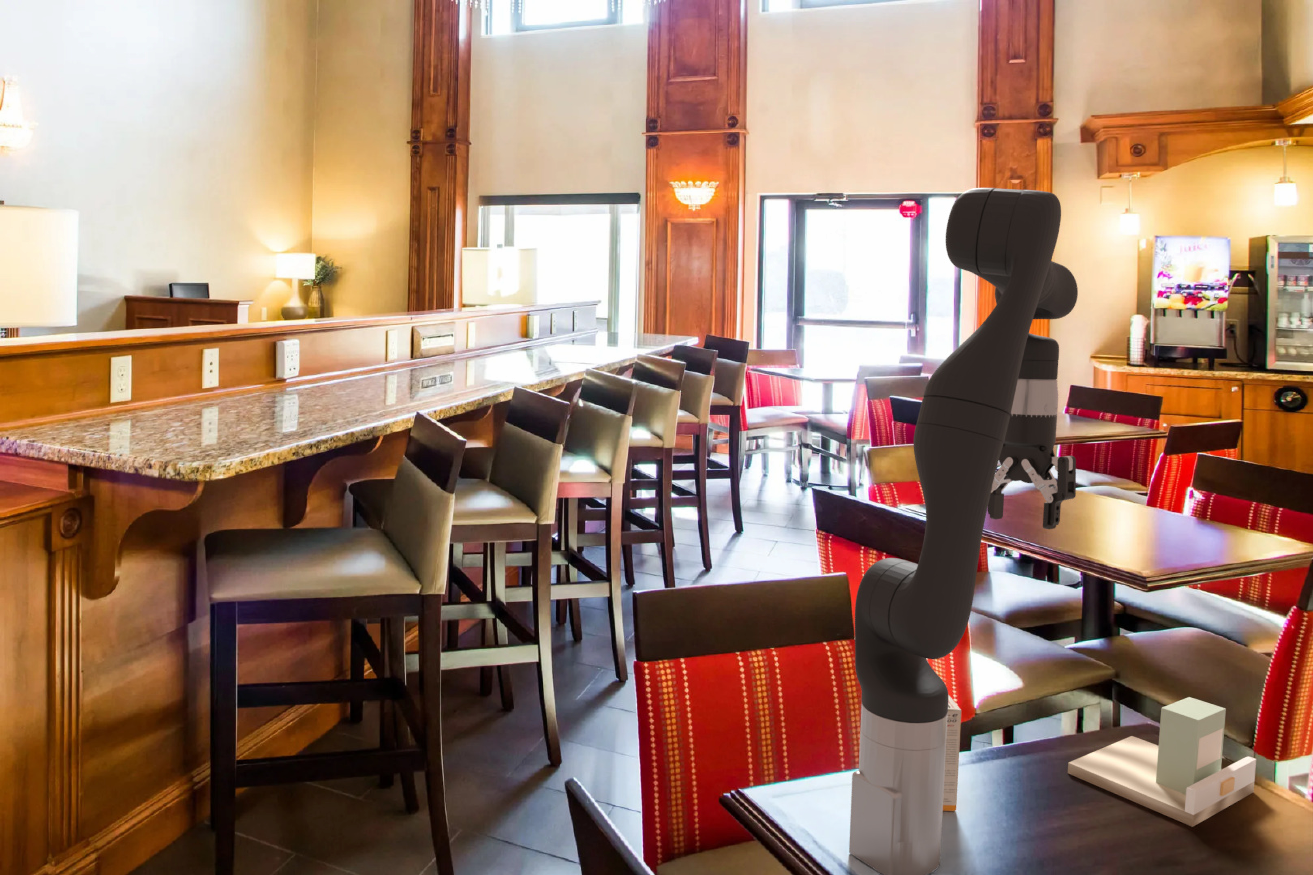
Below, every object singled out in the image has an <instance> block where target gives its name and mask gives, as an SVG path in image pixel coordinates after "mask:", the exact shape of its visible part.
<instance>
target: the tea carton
mask: <svg viewBox="0 0 1313 875" xmlns="http://www.w3.org/2000/svg"><path fill="white" fill-rule="evenodd" d="M1160 711H1161V712H1160V721H1159V722H1160V723H1159V734H1158V735H1159V736H1158V746H1159V747H1158V760H1157V774H1156V783H1158V784H1161V785H1163V786H1166V787H1168V788H1171V789H1173V790H1176V791H1178V792H1181V793H1183V794H1185V795H1186V789H1187V787H1189V786H1191V785H1193V784H1195V783H1197V782H1199V781H1201V780H1202V779H1204V778H1206V777H1208V776H1210V775H1212V774H1214V773H1216V772H1218V771H1220V770H1221V769H1222V763H1223V762H1222V760H1223V749H1224V747H1223V746H1224V735H1225V725H1226V714H1227V713H1226V711H1227V708H1225V707H1222V706H1219V705H1216V704H1212V703H1209V702H1206V701H1203V700H1200V699H1197V698H1193V697H1190V696H1188V697H1186V698H1183V699H1181V700H1177V701H1175V702H1172V703H1170V704H1168V705H1165V706H1162V707H1161V709H1160Z"/></svg>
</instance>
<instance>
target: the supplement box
mask: <svg viewBox="0 0 1313 875" xmlns="http://www.w3.org/2000/svg"><path fill="white" fill-rule="evenodd" d="M961 720H962V709H961V708H960V707H959V706H958V704H957V703H956V702H955V700H954V699H953V698H952V697H951V696H950V695H949V694H948V718H947V738H946V755H945V775H944V794H943V812H956V811H957V801H958V784H959V782H958V780H959V762H960V760H959V759H960V743H961V726H962V725H961V723H962V721H961Z"/></svg>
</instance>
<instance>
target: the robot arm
mask: <svg viewBox="0 0 1313 875" xmlns="http://www.w3.org/2000/svg"><path fill="white" fill-rule="evenodd" d="M1061 220H1062V207H1061V202H1060V200H1059V198H1058V196H1057V195H1056V194H1055V193H1052V192H1050V191H1043V190H1035V189H1034V190H1033V189H1011V188H996V187H975V188H970V189H968V190H967V189H966V190H965V191H963V192H962V193H961V194H959V196H958V197H957V198H956V199H955V201H954V203H953V204H952V207H951V208H950V212H949V216H948V218H947V224H946V230H945V249H946V253H947V257H948V258H949V261H950V262H951V263H952V264H953V266H954V267H956V268H958V269H960V270H963V271H966V272H969V273H971V274H974V275H975V276H978V277H979V278H981V279H982V280H985V281H987V282H988V283H990V284H991V285H992V286H994V287H995V288H994V298H995V303H996V305H995V306H994V308H993V309H992V310H991V312H990V314H989V315H988V316H987V317H986V319H985V320H984V321H983V322H982V323H981V325H980V326H979V327H978V328H977V329H976V330H975V331H974V332H973V333H972V334H971V335H970V336H969V337H968V338H967V339H966V340H965V341H963V342H962V343H961V344H960V345H959V346H958V347H957V348H956V349H955V350H954V351H953V352H952V353H950V354H949V356H947V357H946V359H945V360H943V361H942V363H941V364H940V365H939V366H938V367H937V368H936V370H935V371H934V372H933V373H932V375H931V376H930V378H929V380H928V382H927V383H926V386H925V388H924V392H923V396H922V400H921V404H920V408H919V412H918V417H917V420H916V425H915V428H914V434H913V453H914V459H915V460H914V461H915V465H916V470H917V474H918V478H919V482H920V487H921V490H922V494H923V499H924V500H923V501H924V505H925V530H924V538H923V543H922V547H921V552H920V556H919V559H918V560H919V561H918V563H916V562H913V561H909V560H906V559H901V558H896V557H887V558H882V559H880V560H878V561H876V562H874V563H873V564H872V565H871V566H870V567H869V568H868V569H867V570H866V572H865V573H864V575H863V576H862V578H861V580H860V583H859V585H858V589H857V591H856V597H855V605H854V659H855V660H854V661H855V662H854V665H855V666H854V667H855V674H856V679H857V680H858V683H859V686H860V689H861V706H860V708H861V711H860V729H859V730H860V733H859V753H858V754H859V755H858V756H859V757H858V770H856V771H854V772H853V773H852V774H851V795H850V796H851V797H850V798H851V799H850V826H849V849H848V853H849V854H851V855H852V856H854V857H855V858H856V859H858V860H860V861H862V862H863V863H864V864H866V865H868V866H869V867H871V868H873V869H874V870H875V871H876V872H878V873H880V874H881V875H929V874H931V873H933V872H935V870H937V869H938V868H939V866H940V862H941V851H942V850H941V848H942V835H943V834H942V832H943V830H942V829H943V812H944V811H943V794H944V775H945V755H946V738H947V718H948V695H949V690H948V687H947V685H946V683H945V682H944V681H943V679H942V678H941V677H940V676H939V674H938V673H937V672H935V670H934V669H933V667H932V666H931V664H930V663H929V662H928V660H938V659H942V658H945V657H946V656H948V655H949V654H950V653H952V652H953V651H954V649H956V647H958V645H959V643H960V642H961V639H962V638H963V636H964V634H965V632H966V629H967V627H968V623H969V621H970V618H971V612H972V607H973V601H974V594H975V588H976V581H977V574H978V567H979V566H978V565H979V560H980V553H981V552H980V551H981V544H982V539H983V538H982V537H983V532H984V526H985V523H986V522H985V521H986V516H987V514H988V515H989V519H991V520H1000V519H1003V517H1004V505H1005V504H1004V503H1005V493H1003V491H1004V490H1005V489H1006V488H1007V487H1008V486H1009V484H1010V483H1012V482H1019V481H1021V482H1022V483H1026V484H1033V485H1034V487H1035V488H1036V489H1037V490H1039V492H1040V493H1041V495H1042V497H1043V498H1044V500H1045V501H1046V502H1044V503H1043V513H1042V514H1043V515H1042V529H1044V530H1045V529H1046V530H1053V529H1056V528H1057V526H1059V524H1060V522H1061V509H1062V508H1061V506H1062V503H1063V502H1064V501H1069V500H1071V499H1072V500H1073V499H1075V498H1076V497H1077V496H1076V494H1077V492H1076V491H1077V490H1076V489H1077V486H1076V484H1077V483H1076V482H1077V479H1076V478H1077V459H1076V457H1075V456H1073V455H1065V456H1056V455H1055V452H1054V446H1055V445H1056V442H1057V441H1056V439H1057V426H1058V425H1057V423H1058V422H1057V421H1058V407H1059V390H1058V375H1059V374H1058V373H1059V371H1058V370H1059V360H1060V359H1059V356H1060V345H1059V343H1058V341H1057V340H1056V339H1054V338H1052V337H1048V336H1043V335H1039V334H1038V335H1037V334H1033V333H1030V330H1031V327H1032V323H1033V320H1057V319H1062V318H1064V317H1066V316H1067V315H1069V314H1070V313H1071V312H1072V311H1073V310H1074V308H1075V306H1076V304H1077V301H1078V290H1079V288H1078V283H1077V281H1076V278H1075V277H1074V274H1073V273H1072V272H1071V270H1070V269H1068V268H1067V267H1066V266H1064V265H1062V264H1060V263H1058V262H1055V261H1052V260H1053V256H1054V252H1055V248H1056V245H1057V241H1058V238H1059V232H1060V227H1061ZM998 464H1000V465H1001V466H1000V467H999V468H998ZM997 468H998V470H997ZM1052 468H1054V470H1055V471H1056V472H1057V479H1056V478H1055V476H1054V475H1053V473H1052V471H1051V470H1052ZM927 659H928V660H927Z"/></svg>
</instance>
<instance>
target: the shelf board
mask: <svg viewBox="0 0 1313 875" xmlns="http://www.w3.org/2000/svg"><path fill="white" fill-rule="evenodd" d="M1158 747H1159V744H1158V745H1157V744H1155V743H1152V742H1149V741H1147V740H1144V739H1142V738H1139V737H1136V736H1133V735H1131V736H1128V737H1126V738H1123V739H1121V740H1119V741H1115V742H1114V743H1112V744H1109V745H1107V746H1105V747H1103V748H1100V749H1097V750H1095V751H1093V752H1090V753H1087V754H1085V755H1083V756H1081V757H1078V758H1076V759H1074V760H1071V761H1069V762H1068V763H1067V764H1068V765H1067V774H1069V775H1070V776H1074V777H1076V778H1078V779H1080V780H1081V781H1082V780H1083V781H1085V782H1087V783H1090V784H1092V785H1094V786H1096V787H1099V788H1101V789H1104V790H1106V791H1108V792H1111V793H1113V794H1115V795H1117V796H1120V797H1122V798H1124V799H1127V800H1129V801H1132V802H1134V803H1136V804H1138V805H1140V806H1143V807H1145V808H1147V809H1150V810H1152V811H1155V812H1157V813H1160V814H1162V815H1164V816H1167V817H1168V818H1171V819H1174V820H1175V821H1177V822H1181V823H1183V824H1185V825H1187V826H1189V827H1191V828H1192V827H1195V826H1196V825H1198V824H1200V823H1202V822H1203V821H1207V819H1209V818H1211V817H1212V816H1214V815H1216V814H1218V813H1219V812H1221V811H1223V810H1225V809H1226V808H1229V806H1233V805H1234V804H1235V803H1238V801H1241V800H1243V799H1245V798H1246V797H1248V796H1249V795H1252V794H1254V793H1255V792H1254V791H1255V790H1254V789H1255V779H1256V769H1257V768H1256V767H1257V758H1254V757H1252V756H1249V755H1248V756H1246V757H1243V758H1241V759H1239V760H1237V761H1236V762H1233V763H1231V764H1230V765H1228V766H1226V767H1224V768H1221V770H1220V771H1218V772H1216V773H1214V774H1212V775H1210V776H1208V777H1206V778H1204V779H1202V780H1201V781H1199V782H1197V783H1195V784H1193V785H1191V786H1189V787H1187V789H1186V795H1185V794H1183V793H1181V792H1178V791H1176V790H1173V789H1171V788H1168V787H1166V786H1163V785H1161V784H1158V783H1156V774H1157V760H1158Z"/></svg>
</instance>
